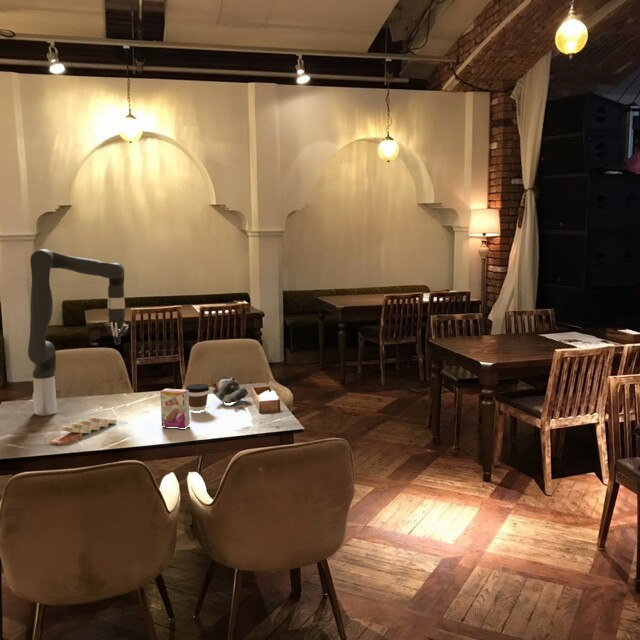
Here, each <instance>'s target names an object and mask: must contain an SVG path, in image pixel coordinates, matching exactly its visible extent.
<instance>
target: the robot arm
mask: <svg viewBox="0 0 640 640" xmlns="http://www.w3.org/2000/svg"><path fill="white" fill-rule="evenodd" d="M29 261H30V271H31V272H30V273H31V288H30V289H31V290H30V324H29V327H30V329H29V339H28V348H27V355H28V358H29V360H30V361H31V362H32V363H33V364H35V365H36V366H35V367H34V369H33V371H32V382H33V383H32V384H33V392H32V404H33V414H35V415H36V416H42V417H43V416H50V415H54V414H56V413H57V411H58V408H57V407H58V406H57V393H56V391H57V390H56V379H55V372H56V368H57V367H56V366H57V358H56V357H57V356H56V355H57V354H56V348H55V346H54V344H53V343H52V342H50V341H49V340H48V341H47V340H46V338H47V337H46V336H47V331H48V328H49V325H50V323H51V320H52V317H53V305H54V304H53V302H54V301H53V293H52V290H51V285H50V275H51V269H63V270H66V271H67V270H69V271H71V272H75V273H79V274H84V275H88V276H96V277H98V276H99V277H101V278H106V279H108V286H107V287H108V288H107V317H108V322H107V323H104V326H105V328H106V331H108V333H109V335H110V336H111V335H112V336H113V343H114V345H117V346H118V345H120V344H121V342H122V341H121V339H122V338H121V337H122V336H125V334H126V332H127V331H128V330H129V328H130V325H129V324H126V320H125V318H126V302H125V301H126V300H125V289H124V288H125V287H124V284H125V267H124V266H123V265H122V264H121V263H120V262H112V263H111V262H104V261H101V260H98V259H93V258H92V259H91V258H84V257H77V256H71V255H66V254H62V253H59V252H55V251H54V250H53V251H52V250H49V249H47V248H41V249H36V250H35V251H33V252H32V254H31V256H30V259H29Z"/></svg>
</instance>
